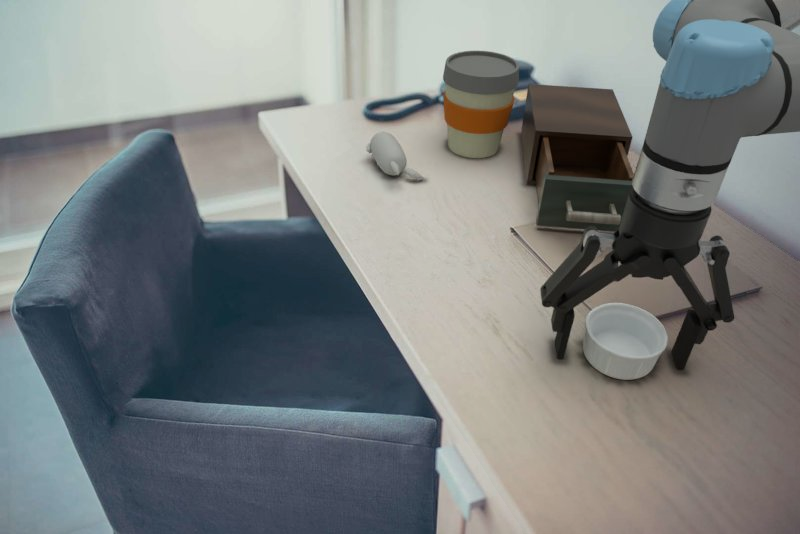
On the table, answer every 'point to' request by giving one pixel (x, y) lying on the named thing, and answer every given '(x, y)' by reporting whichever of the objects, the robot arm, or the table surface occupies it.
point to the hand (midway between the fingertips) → (617, 355)
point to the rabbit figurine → (390, 155)
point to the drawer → (581, 182)
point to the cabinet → (570, 118)
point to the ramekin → (623, 340)
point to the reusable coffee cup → (478, 100)
